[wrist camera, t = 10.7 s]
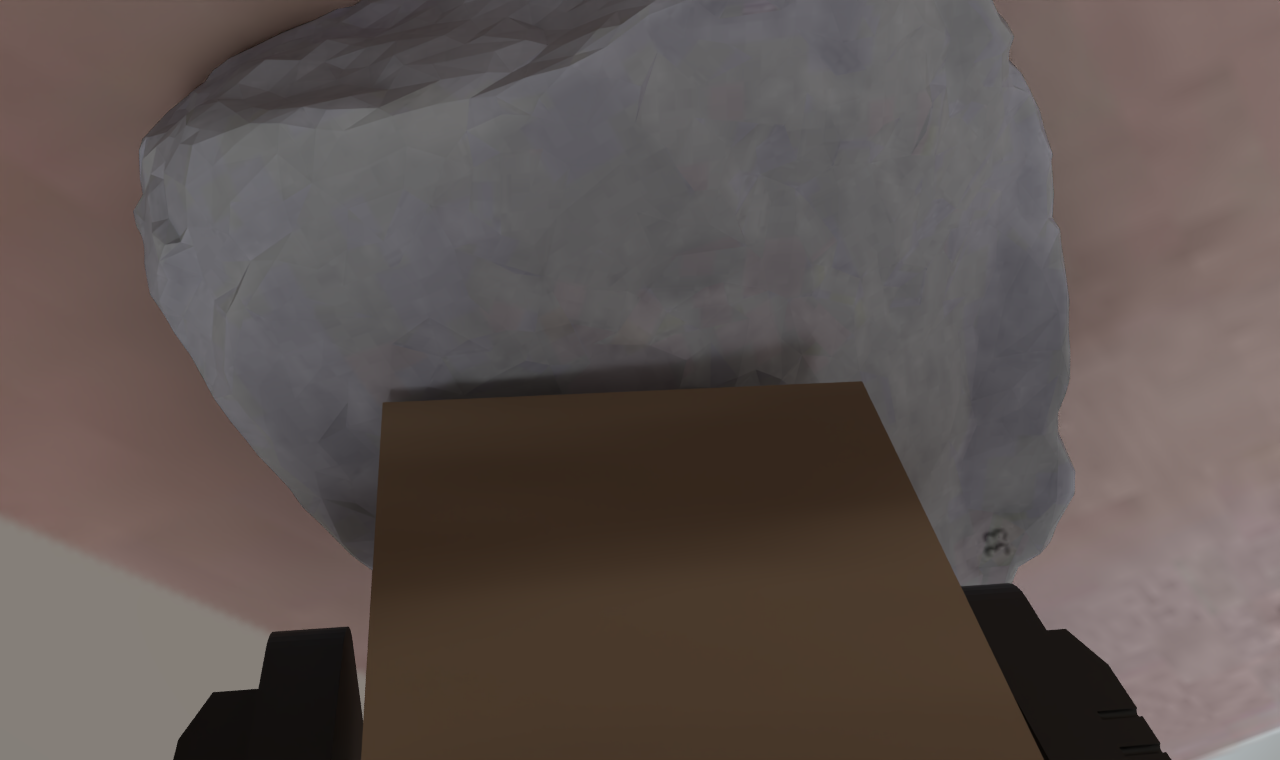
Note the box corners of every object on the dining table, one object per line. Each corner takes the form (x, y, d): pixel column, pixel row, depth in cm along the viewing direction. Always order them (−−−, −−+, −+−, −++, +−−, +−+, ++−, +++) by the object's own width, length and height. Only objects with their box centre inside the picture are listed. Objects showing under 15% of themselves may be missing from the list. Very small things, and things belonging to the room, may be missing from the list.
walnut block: (383, 403, 11) (352, 907, 7) (862, 380, 11) (1074, 824, 8) (416, 697, 14) (408, 1157, 10) (791, 665, 15) (916, 1080, 11)
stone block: (799, -281, 13) (72, 100, 13) (1052, -286, 9) (22, 262, 9) (971, 400, 20) (510, 669, 20) (1155, 556, 16) (589, 899, 16)
